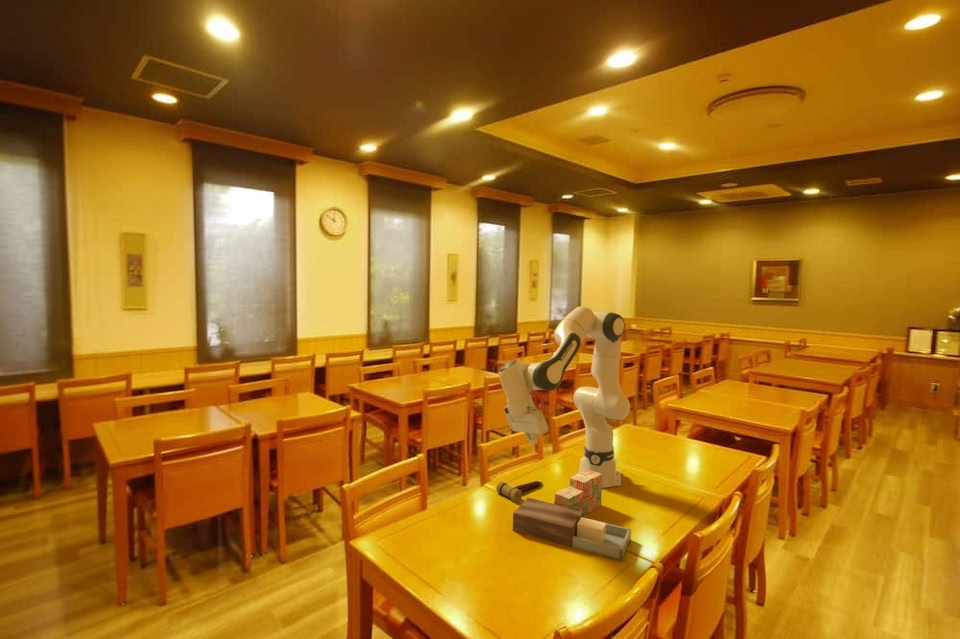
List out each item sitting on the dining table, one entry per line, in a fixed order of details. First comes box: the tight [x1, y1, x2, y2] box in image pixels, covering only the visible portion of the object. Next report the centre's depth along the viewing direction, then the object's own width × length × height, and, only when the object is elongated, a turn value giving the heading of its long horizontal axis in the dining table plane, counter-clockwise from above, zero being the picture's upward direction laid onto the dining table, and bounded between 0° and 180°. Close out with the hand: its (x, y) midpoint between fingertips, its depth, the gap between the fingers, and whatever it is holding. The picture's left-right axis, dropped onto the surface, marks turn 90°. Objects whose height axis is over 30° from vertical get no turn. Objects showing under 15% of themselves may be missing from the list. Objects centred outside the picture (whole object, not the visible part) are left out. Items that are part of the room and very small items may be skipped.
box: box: [572, 517, 632, 562], centre depth 148 cm, size 14×15×4 cm
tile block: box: [577, 516, 607, 544], centre depth 150 cm, size 5×5×8 cm
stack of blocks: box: [553, 470, 603, 516], centre depth 169 cm, size 21×6×12 cm, turn 135°
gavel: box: [495, 480, 543, 503], centre depth 186 cm, size 21×5×10 cm
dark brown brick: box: [512, 497, 584, 548], centre depth 157 cm, size 13×20×6 cm, turn 62°
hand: (534, 443), depth 166 cm, fingers closed
